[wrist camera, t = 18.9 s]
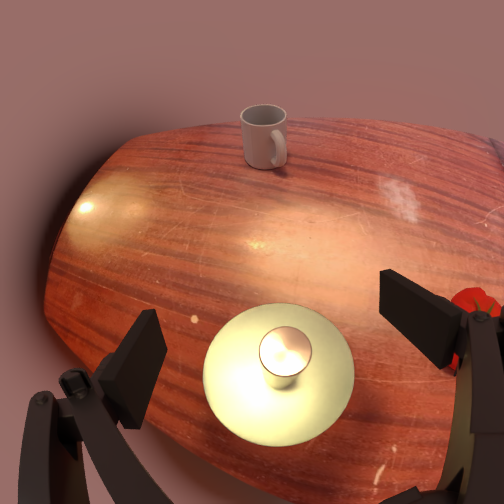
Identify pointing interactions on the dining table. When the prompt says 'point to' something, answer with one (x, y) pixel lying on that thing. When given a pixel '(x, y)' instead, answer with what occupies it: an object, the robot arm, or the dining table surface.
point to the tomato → (475, 306)
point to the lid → (278, 374)
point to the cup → (264, 136)
